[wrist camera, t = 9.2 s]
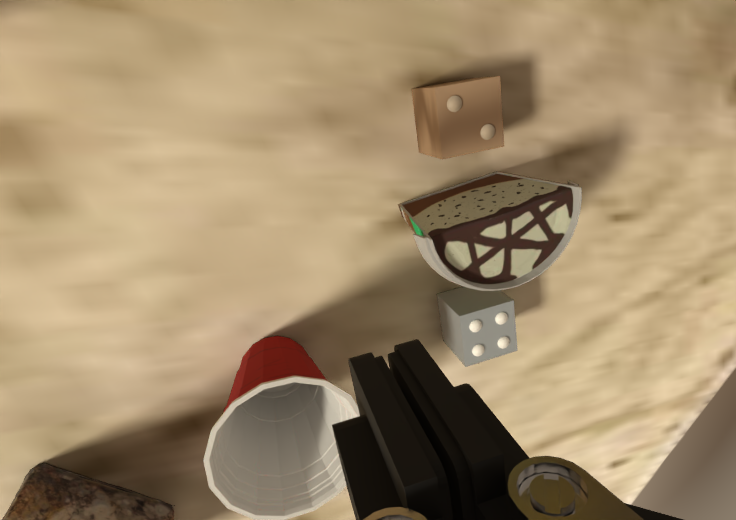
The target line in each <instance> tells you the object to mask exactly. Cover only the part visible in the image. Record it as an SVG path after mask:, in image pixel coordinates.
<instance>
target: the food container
mask: <svg viewBox="0 0 736 520" xmlns="http://www.w3.org/2000/svg"><path fill="white" fill-rule="evenodd" d="M581 201H582V187H579V185H578V184H576V183H574V182H572V181H570V180H569V181H568V184H563V183H558V182H552V181H547V180H542V179H536V178H531V177H525V176H520V175H515V174H509V173H504V172H498V171H496V172H493V173H490V174H487V175H484V176H481V177H478V178H475V179H472V180H469V181H466V182H463V183H460V184H457V185H454V186H451V187H448V188H445V189H442V190H439V191H436V192H433V193H430V194H427V195H424V196H421V197H418V198H415V199H412V200H409V201H406V202H403V203H400V204H398V206H399V208H400V211H401V214H402V217H403V218H404V220H405V221H406V222H407V224H408V225H409V227H410V228H411V229H412V231H413V232H414V233H415V234H413V236H414V238H415V241H416V244H417V247H418V249H419V251H420V252H421V254H422V256H423V258H424V259H425V260H426V262H427V263H428V264H429V266H430V267H431V268H432V269H433V270H435V271H436V272H437V273H438V274H439V275H441V276H442V277H444V278H445V279H447V280H449V281H451V282H453V283H456V284H459V285H461V286H464V287H467V288H470V289H475V290H480V291H495V290H505V289H510V288H514V287H517V286H520V285H522V284H525V283H527V282H529V281H531V280H533V279H534V278H536V277H537V276H539V275H540V274H542V273H543V272H544V271H545V270H547V269H548V268H549V267H550V266H551V265H552V264H553V263H554V262H555V261H556V260H557V259H558V258H559V256H560V255H561V254H562V252H563V251H564V249H565V248H566V247H567V245H568V243H569V241H570V239H571V237H572V236H573V233H574V231H575V228H576V225H577V222H578V219H579V215H580V210H581Z"/></svg>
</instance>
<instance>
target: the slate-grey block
mask: <svg viewBox="0 0 736 520" xmlns="http://www.w3.org/2000/svg"><path fill="white" fill-rule="evenodd" d="M437 300H438V307H439V314H440V321H441V328H442V336H443V341H444V342H445V343H446V344H447V346H448V347H449V348H450V349H451V350H452V352H453V353H454V354H455V355H456V356H457V357H458V359H459V360H460V361H461V362H462V363H463V364H464V366H465V367H467V366H470V365H473V364H476V363H480V362H483V361H486V360H489V359H492V358H495V357H499V356H502V355H505V354H508V353H511V352H515V351H517V338H516V324H515V311H514V300H513V299H511V298H510V297H508V296H507V295H506V294H504V293H503V292H502V291H500V290H495V291H480V290H475V289H470V288H467V287H464V286H463V287H460V288H456V289H453V290H449V291H445V292H442V293H438V294H437Z"/></svg>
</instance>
